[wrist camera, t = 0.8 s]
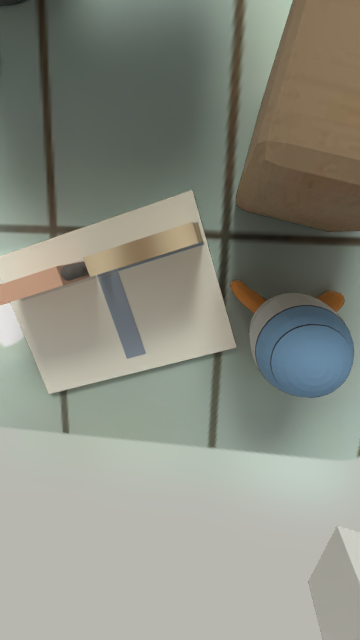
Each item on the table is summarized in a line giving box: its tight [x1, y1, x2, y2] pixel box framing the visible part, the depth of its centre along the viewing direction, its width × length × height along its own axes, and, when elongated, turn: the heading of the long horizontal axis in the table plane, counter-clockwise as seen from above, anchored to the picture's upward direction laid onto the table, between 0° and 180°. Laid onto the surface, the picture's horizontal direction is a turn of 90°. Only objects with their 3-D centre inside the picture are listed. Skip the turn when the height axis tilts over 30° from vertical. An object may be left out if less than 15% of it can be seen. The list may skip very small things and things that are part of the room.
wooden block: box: [236, 0, 360, 232], centre depth 20 cm, size 10×10×20 cm
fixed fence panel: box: [61, 222, 203, 281], centre depth 29 cm, size 11×2×9 cm, turn 107°
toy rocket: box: [230, 281, 354, 398], centre depth 27 cm, size 10×11×15 cm
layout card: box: [0, 190, 237, 394], centre depth 35 cm, size 16×22×1 cm
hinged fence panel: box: [0, 261, 90, 305], centre depth 31 cm, size 9×2×7 cm, turn 107°
